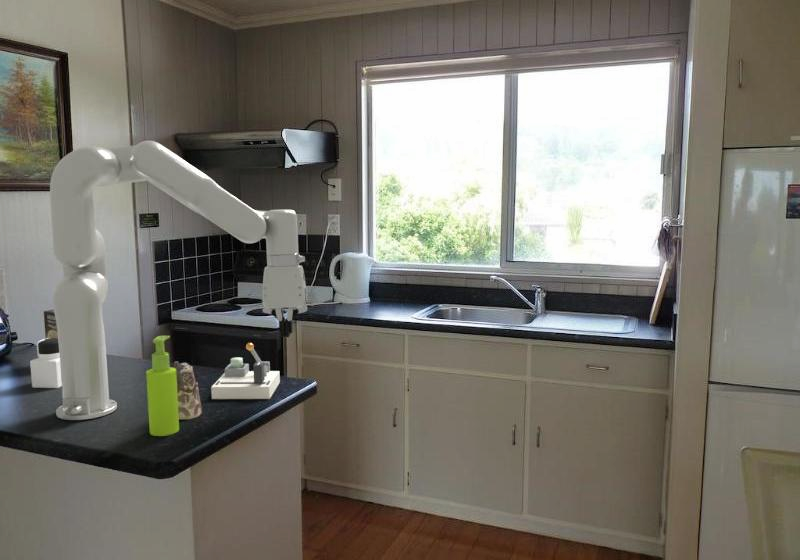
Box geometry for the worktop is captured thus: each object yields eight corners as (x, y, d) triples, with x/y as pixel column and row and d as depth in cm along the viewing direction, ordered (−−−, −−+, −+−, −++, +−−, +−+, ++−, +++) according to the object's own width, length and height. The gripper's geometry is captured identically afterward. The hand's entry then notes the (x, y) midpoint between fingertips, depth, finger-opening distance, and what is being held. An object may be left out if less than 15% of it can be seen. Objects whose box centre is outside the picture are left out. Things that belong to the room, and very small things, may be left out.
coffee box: (46, 365, 194) (42, 310, 192) (67, 360, 199) (63, 307, 197) (64, 370, 189) (60, 313, 187) (85, 364, 194) (82, 310, 192)
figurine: (179, 422, 146) (176, 368, 145) (162, 415, 151) (159, 363, 149) (207, 413, 152) (205, 362, 150) (190, 407, 156) (187, 357, 155)
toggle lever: (267, 371, 172) (249, 342, 171) (261, 375, 172) (243, 346, 171) (270, 368, 175) (252, 340, 174) (263, 372, 175) (245, 343, 174)
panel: (269, 398, 162) (268, 376, 162) (211, 399, 162) (210, 376, 162) (279, 382, 176) (279, 361, 175) (226, 382, 176) (225, 361, 175)
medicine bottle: (74, 380, 178) (70, 336, 177) (57, 388, 171) (54, 342, 170) (48, 380, 179) (45, 336, 177) (31, 387, 172) (27, 342, 170)
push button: (241, 369, 172) (241, 360, 171) (229, 369, 172) (229, 360, 171) (244, 366, 175) (243, 357, 174) (232, 366, 175) (232, 357, 174)
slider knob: (262, 382, 163) (261, 364, 163) (254, 382, 163) (253, 364, 163) (264, 379, 166) (264, 361, 166) (256, 379, 166) (255, 361, 166)
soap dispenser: (184, 424, 145) (179, 333, 142) (174, 436, 138) (169, 341, 135) (156, 424, 145) (151, 333, 142) (145, 436, 138) (140, 341, 135)
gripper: (316, 258, 165) (318, 332, 167) (255, 260, 165) (258, 333, 167) (312, 262, 157) (315, 339, 160) (248, 263, 157) (252, 340, 160)
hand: (286, 335), depth 163 cm, fingers closed
